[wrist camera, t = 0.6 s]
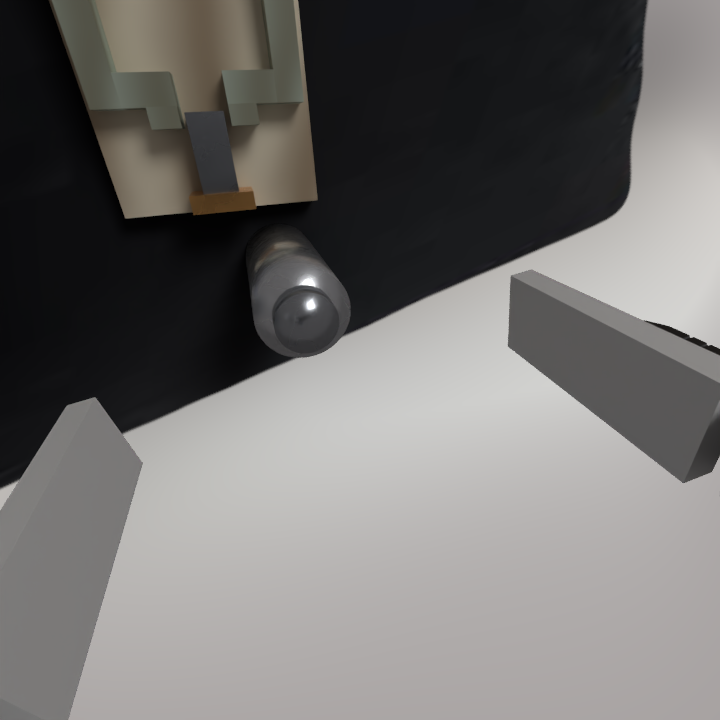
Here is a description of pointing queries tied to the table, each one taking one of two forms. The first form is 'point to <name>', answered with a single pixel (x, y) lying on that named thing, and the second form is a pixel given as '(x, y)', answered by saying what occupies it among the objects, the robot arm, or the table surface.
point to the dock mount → (192, 94)
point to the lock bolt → (215, 166)
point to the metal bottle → (294, 293)
